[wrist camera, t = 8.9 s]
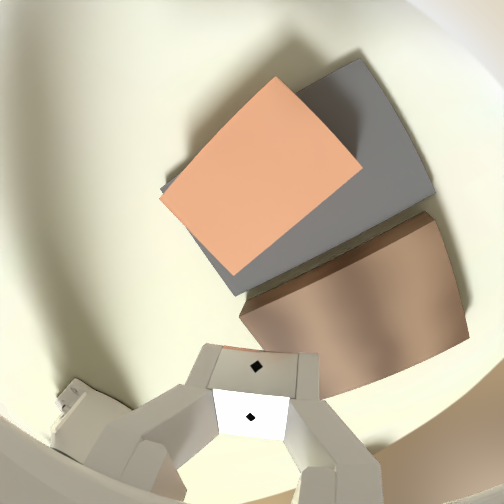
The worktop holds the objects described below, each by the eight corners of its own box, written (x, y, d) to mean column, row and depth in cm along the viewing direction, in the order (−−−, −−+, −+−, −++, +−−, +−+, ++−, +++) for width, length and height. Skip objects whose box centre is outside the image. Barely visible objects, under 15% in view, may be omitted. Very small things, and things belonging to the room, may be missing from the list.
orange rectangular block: (246, 255, 20) (233, 276, 17) (181, 188, 19) (159, 198, 16) (355, 161, 16) (362, 167, 13) (283, 85, 15) (275, 75, 12)
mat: (237, 291, 22) (234, 296, 21) (165, 186, 20) (160, 188, 19) (431, 190, 16) (435, 192, 15) (358, 60, 14) (360, 57, 13)
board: (309, 386, 24) (307, 403, 22) (245, 301, 22) (238, 317, 20) (461, 322, 19) (469, 337, 17) (424, 210, 17) (435, 219, 15)
